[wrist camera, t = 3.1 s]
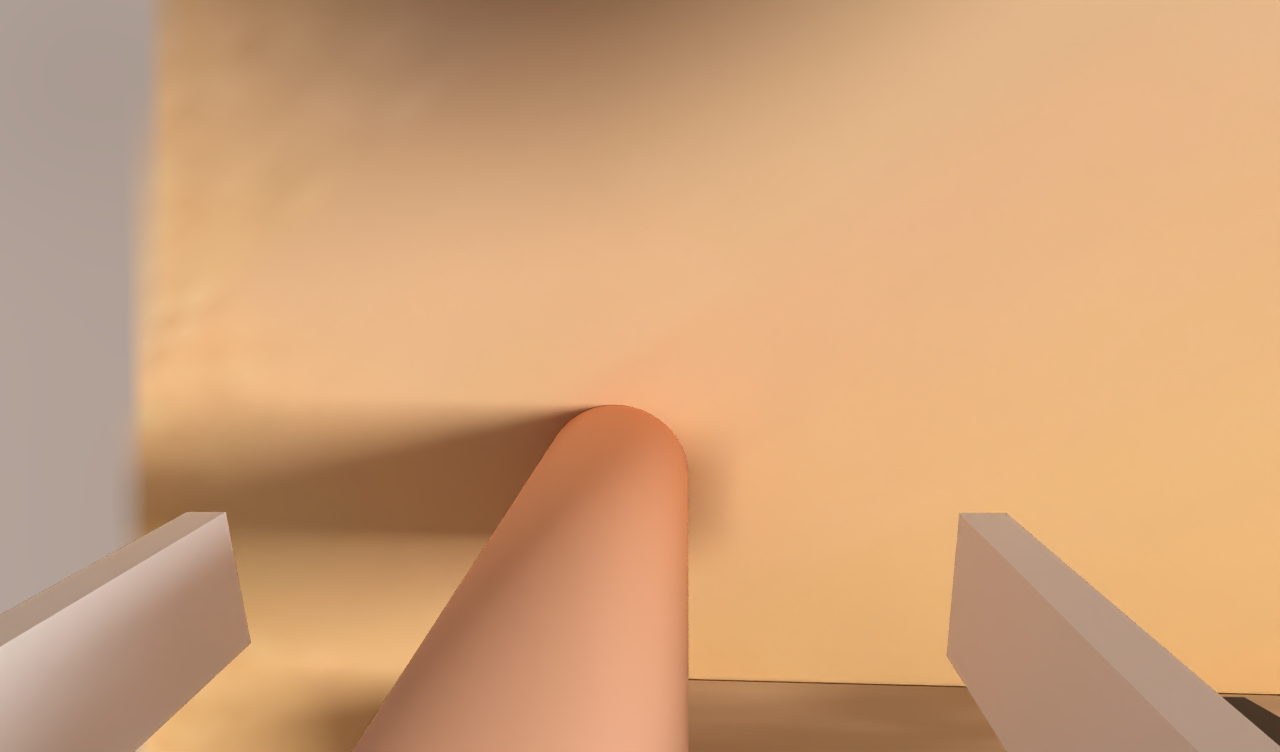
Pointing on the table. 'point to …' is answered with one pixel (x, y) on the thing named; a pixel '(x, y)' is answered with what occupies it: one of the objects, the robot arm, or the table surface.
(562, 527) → the peg
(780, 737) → the socket box
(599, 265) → the table surface
